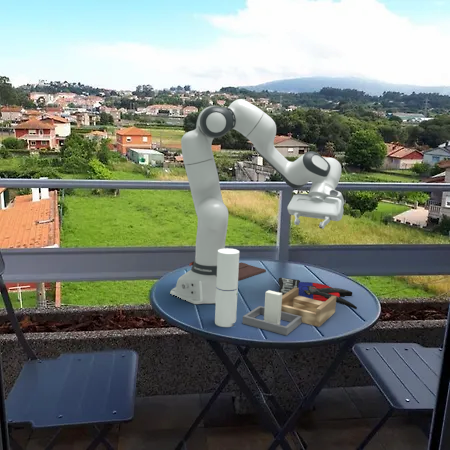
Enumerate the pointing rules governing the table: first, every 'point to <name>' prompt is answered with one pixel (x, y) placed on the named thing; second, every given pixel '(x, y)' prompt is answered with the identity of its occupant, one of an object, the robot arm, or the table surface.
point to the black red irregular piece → (315, 291)
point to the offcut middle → (304, 307)
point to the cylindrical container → (226, 287)
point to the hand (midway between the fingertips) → (308, 225)
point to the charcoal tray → (284, 330)
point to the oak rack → (307, 316)
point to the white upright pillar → (273, 307)
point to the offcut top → (307, 301)
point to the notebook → (248, 271)
